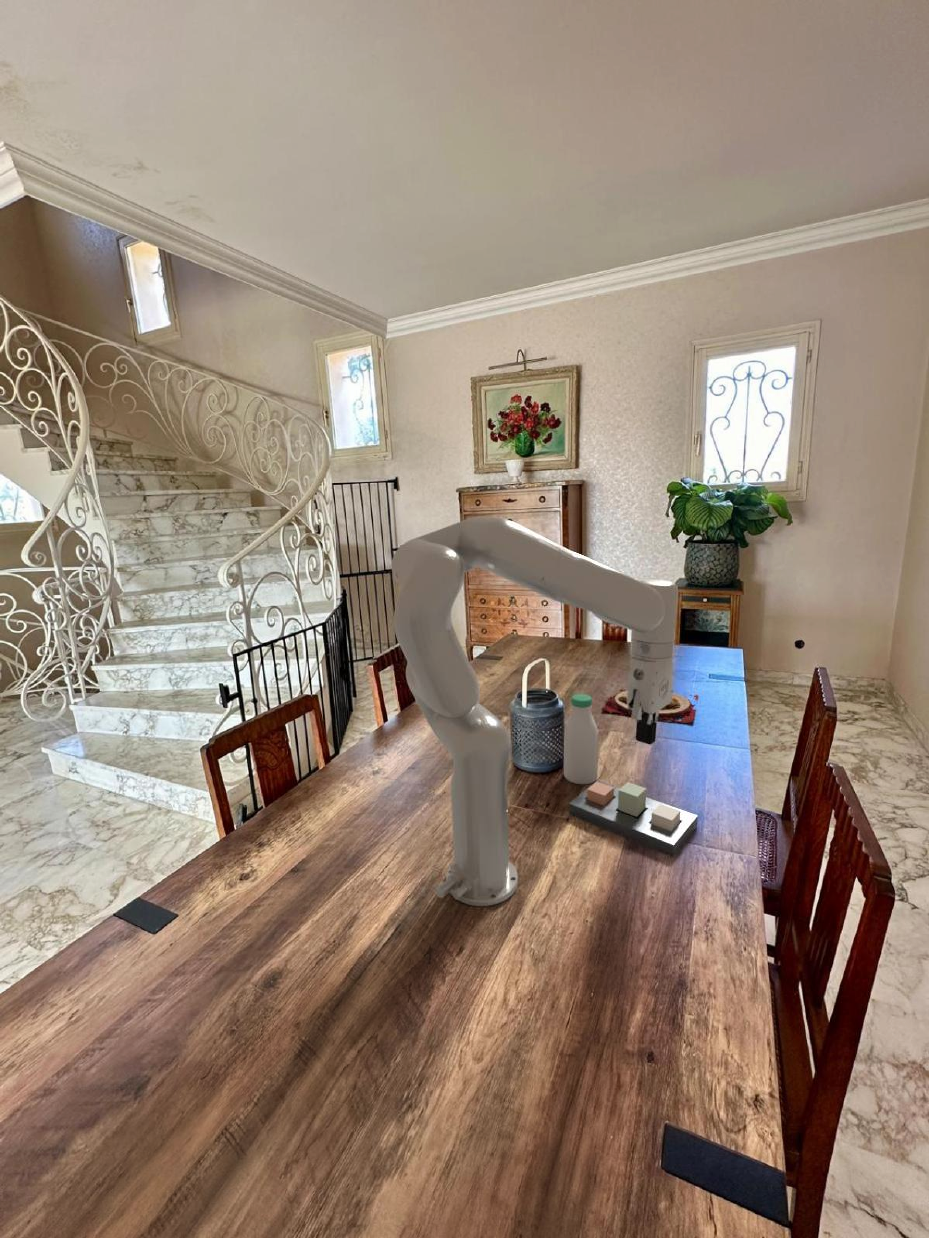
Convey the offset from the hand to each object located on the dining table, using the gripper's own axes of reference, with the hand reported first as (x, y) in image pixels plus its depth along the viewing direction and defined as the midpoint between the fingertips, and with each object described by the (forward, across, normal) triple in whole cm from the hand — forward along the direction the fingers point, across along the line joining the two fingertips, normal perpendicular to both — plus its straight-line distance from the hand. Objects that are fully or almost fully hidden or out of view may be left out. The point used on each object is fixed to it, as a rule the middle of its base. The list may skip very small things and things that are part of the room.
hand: (645, 741), depth 106 cm
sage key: (+17, +2, +3) cm, 17 cm away
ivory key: (+19, +3, -4) cm, 19 cm away
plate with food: (+19, +63, +27) cm, 71 cm away
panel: (+19, +2, +3) cm, 20 cm away
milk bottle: (+19, +11, +20) cm, 30 cm away
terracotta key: (+19, +2, +10) cm, 22 cm away
